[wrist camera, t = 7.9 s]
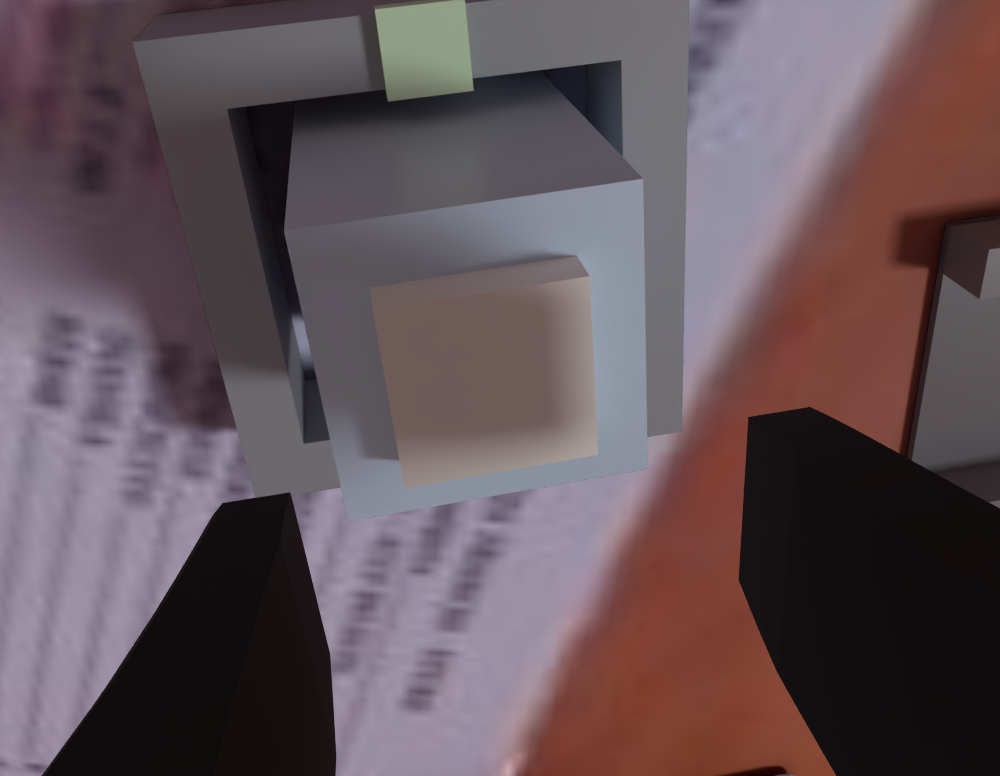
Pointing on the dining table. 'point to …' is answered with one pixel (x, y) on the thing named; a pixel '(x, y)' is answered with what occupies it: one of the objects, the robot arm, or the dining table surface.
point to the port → (405, 75)
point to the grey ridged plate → (963, 363)
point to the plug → (468, 292)
